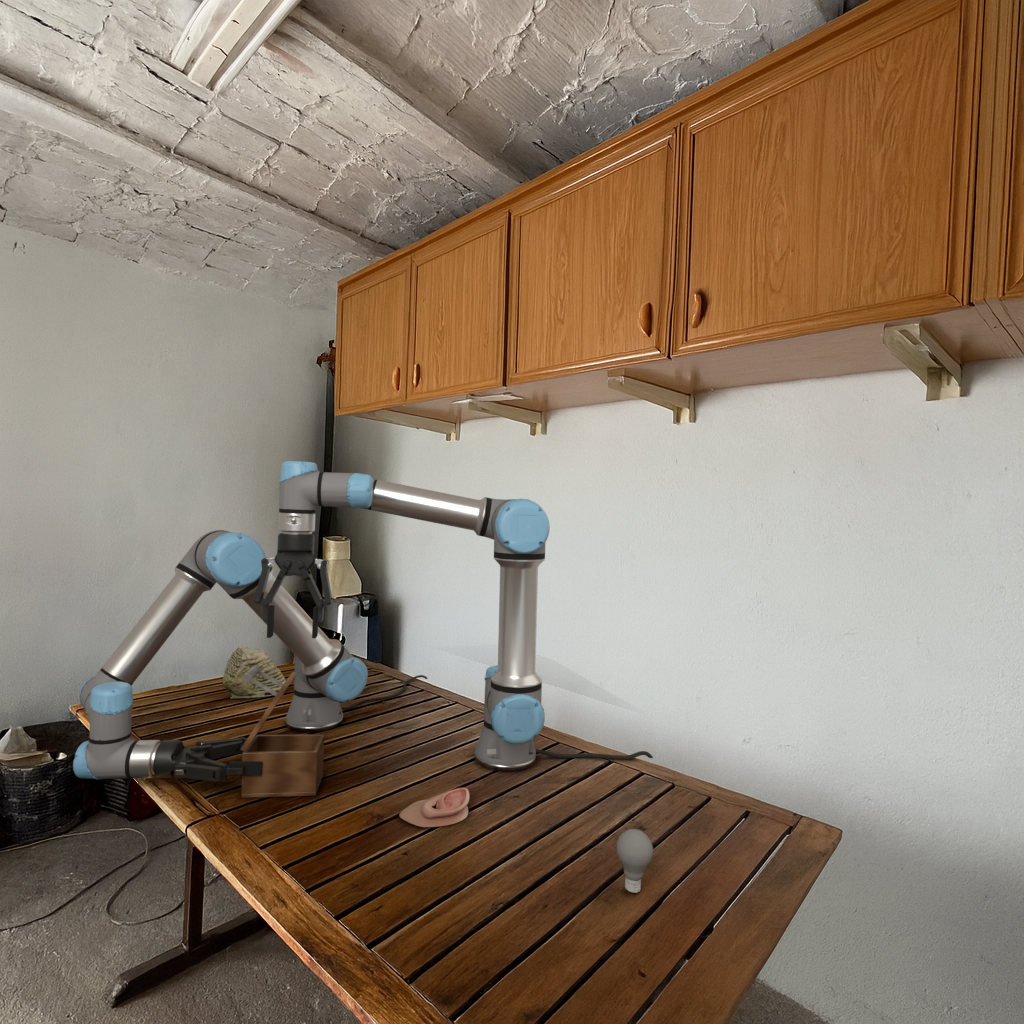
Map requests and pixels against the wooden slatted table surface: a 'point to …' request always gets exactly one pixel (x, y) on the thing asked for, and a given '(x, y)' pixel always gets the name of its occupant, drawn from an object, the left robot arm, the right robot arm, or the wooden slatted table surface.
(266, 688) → the lid
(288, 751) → the chest
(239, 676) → the fossil
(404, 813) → the anatomical model
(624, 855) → the light bulb
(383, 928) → the wooden slatted table surface
